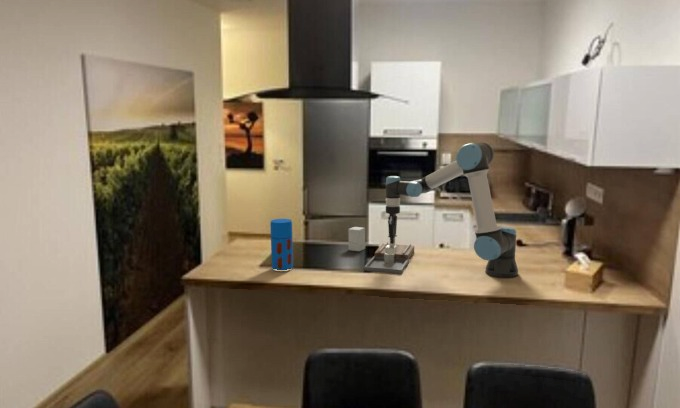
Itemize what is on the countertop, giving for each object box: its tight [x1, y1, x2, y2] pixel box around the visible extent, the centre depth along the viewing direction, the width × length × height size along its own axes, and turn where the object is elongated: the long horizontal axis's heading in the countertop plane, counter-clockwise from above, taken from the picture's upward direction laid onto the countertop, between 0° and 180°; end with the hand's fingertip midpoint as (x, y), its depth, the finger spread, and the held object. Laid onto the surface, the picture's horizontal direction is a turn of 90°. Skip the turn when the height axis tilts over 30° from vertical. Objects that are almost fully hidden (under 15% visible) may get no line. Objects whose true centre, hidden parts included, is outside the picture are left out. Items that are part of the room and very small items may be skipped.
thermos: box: [269, 218, 294, 270], centre depth 252 cm, size 11×11×25 cm
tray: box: [363, 255, 410, 275], centre depth 257 cm, size 19×20×2 cm
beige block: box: [384, 252, 395, 264], centre depth 262 cm, size 5×5×4 cm
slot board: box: [374, 241, 415, 261], centre depth 276 cm, size 18×20×5 cm
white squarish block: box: [385, 245, 397, 254], centre depth 266 cm, size 5×5×4 cm
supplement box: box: [348, 226, 366, 252], centre depth 290 cm, size 7×7×13 cm
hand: (392, 248), depth 269 cm, fingers closed
